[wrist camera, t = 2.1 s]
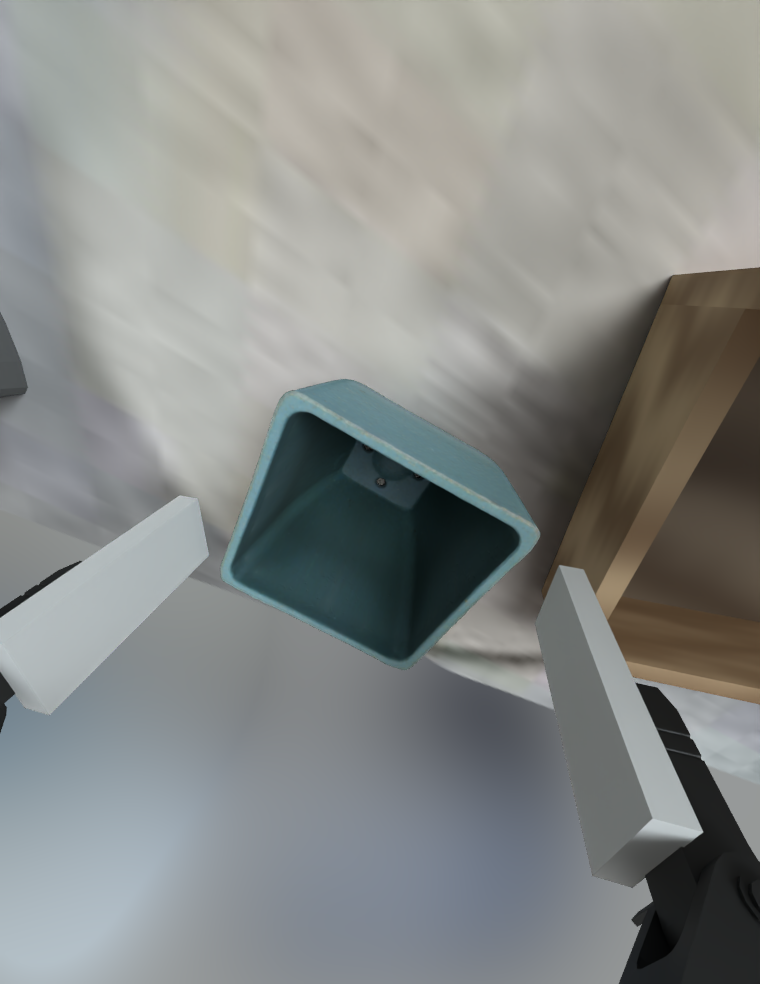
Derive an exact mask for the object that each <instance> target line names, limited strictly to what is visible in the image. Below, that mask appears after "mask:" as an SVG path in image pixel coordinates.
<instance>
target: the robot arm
mask: <svg viewBox="0 0 760 984" xmlns="http://www.w3.org/2000/svg"><path fill="white" fill-rule="evenodd" d="M208 556H209V552H208V547H207V542H206V537H205V532H204V527H203V522H202V517H201V512H200V507H199V502H198V499H197V498H192V497H187V496H181V495H179V496H178V497H177V498H175V499H174V500H172V501H171V502H169V503H168V504H166V505H165V506H163V507H162V508H160V509H159V510H157V511H156V512H155V513H153V514H152V515H150V516H149V517H147V518H146V519H144V520H143V521H141V522H140V523H138V524H137V525H136V526H134V527H133V528H131V529H130V530H128V531H127V532H125V533H124V534H122V535H121V536H119V537H118V538H116V539H115V540H114V541H112V542H111V543H109V544H108V545H106V546H105V547H103V548H102V549H100V550H99V551H97V552H96V553H95V554H93V555H92V556H90V557H89V558H87V559H86V560H84V561H79V562H77V563H74V564H72V565H69V566H67V567H65V568H63V569H61V570H58V571H57V572H55V573H54V574H53V575H51V576H49V577H48V578H46V579H45V580H43V581H42V582H40V584H39V585H36V586H34V587H33V588H31V589H30V590H28V591H27V592H25V594H24V595H23V596H19V597H17V598H16V599H14V600H13V601H11V602H10V603H8V604H7V605H6V606H4V607H2V608H1V609H0V732H1V729H2V726H3V723H4V720H5V717H6V709H7V707H6V706H5V704H4V703H5V702H6V701H7V700H8V699H10V698H11V697H12V696H13V695H14V694H15V695H16V696H17V698H18V699H19V701H20V702H21V703H22V705H23V706H24V708H27V709H30V710H34V711H37V712H41V713H44V714H47V715H50V714H51V713H52V712H53V711H54V710H55V709H56V708H57V707H58V706H59V705H60V704H61V703H62V702H63V701H64V700H65V699H66V698H67V697H68V696H69V695H70V694H71V693H72V692H73V691H74V690H75V689H76V688H77V687H78V686H79V685H80V684H81V683H82V682H83V681H84V680H85V679H86V678H87V677H88V676H89V675H90V674H91V673H92V672H93V671H94V670H95V669H96V668H97V667H98V666H99V665H100V664H101V663H102V662H103V661H104V660H105V659H106V658H107V657H108V656H109V655H110V654H111V653H112V652H113V651H114V650H115V649H116V648H117V647H118V646H119V645H120V644H121V643H122V642H123V641H124V640H125V639H126V638H127V637H128V636H129V635H130V634H131V633H132V632H133V631H134V630H135V629H136V628H137V627H138V626H139V625H140V624H141V623H142V622H143V621H144V620H145V619H146V618H147V617H148V616H149V615H150V614H151V613H152V612H153V611H154V610H155V609H156V608H157V607H158V606H159V605H160V604H161V603H162V602H163V601H164V600H165V599H166V598H167V597H168V596H169V595H170V594H171V593H172V592H173V591H174V590H175V589H176V588H177V587H178V586H179V585H180V584H181V583H182V582H183V581H184V580H185V579H186V578H187V577H188V576H189V575H190V574H191V573H192V572H193V571H194V570H195V569H196V568H197V567H198V566H199V565H200V564H201V563H202V562H203V561H204V560H205V559H206V558H207V557H208ZM535 626H536V630H537V635H538V639H539V643H540V648H541V652H542V657H543V661H544V665H545V670H546V674H547V679H548V683H549V687H550V692H551V696H552V701H553V705H554V709H555V714H556V718H557V722H558V727H559V731H560V736H561V740H562V745H563V749H564V753H565V757H566V762H567V767H568V771H569V775H570V780H571V784H572V788H573V793H574V797H575V802H576V806H577V811H578V815H579V820H580V824H581V828H582V833H583V837H584V841H585V846H586V850H587V855H588V859H589V864H590V868H591V872H592V876H594V877H598V878H601V879H604V880H608V881H611V882H615V883H618V884H621V885H625V886H628V887H631V888H633V887H634V886H635V885H636V884H638V883H639V882H640V881H642V880H643V879H644V878H646V880H647V883H648V886H649V889H650V892H651V896H652V899H653V902H652V903H650V904H649V905H648V906H646V907H645V908H643V909H642V910H640V911H639V912H638V913H637V914H636V915H635V916H634V917H633V919H632V921H633V922H634V924H636V926H639V925H641V924H642V925H641V928H640V930H639V933H638V936H637V938H636V941H635V943H634V946H633V948H632V951H631V954H630V956H629V959H628V961H627V964H626V967H625V969H624V972H623V974H622V977H621V979H620V982H619V984H760V862H759V861H758V860H757V858H756V856H755V855H754V853H753V852H752V850H751V848H750V847H749V845H748V843H747V841H746V839H745V838H744V836H743V834H742V832H741V830H740V828H739V826H738V824H737V822H736V821H735V819H734V817H733V815H732V813H731V811H730V809H729V808H728V805H727V803H726V802H725V800H724V798H723V796H722V794H721V792H720V790H719V788H718V786H717V785H716V783H715V781H714V779H713V777H712V775H711V773H710V771H709V769H708V767H707V766H706V764H705V762H704V761H702V760H701V754H700V752H699V750H698V749H697V747H696V745H695V743H694V741H693V740H692V739H690V733H689V731H688V730H687V728H686V726H685V724H684V722H683V720H682V718H681V716H680V714H679V713H678V711H677V709H676V708H675V707H674V706H673V705H672V704H671V703H670V701H669V700H668V699H667V698H666V697H665V696H664V695H663V693H662V692H661V691H660V690H659V689H658V688H656V687H652V686H647V685H643V684H638V683H635V681H634V679H633V677H632V675H631V672H630V670H629V668H628V666H627V664H626V661H625V659H624V657H623V655H622V653H621V650H620V648H619V646H618V644H617V642H616V639H615V637H614V635H613V633H612V631H611V628H610V626H609V624H608V622H607V620H606V617H605V615H604V613H603V611H602V609H601V606H600V604H599V602H598V600H597V598H596V595H595V593H594V591H593V589H592V587H591V584H590V582H589V580H588V578H587V576H586V574H585V571H584V569H579V568H573V567H568V566H562V565H559V566H558V569H557V571H556V573H555V576H554V578H553V581H552V583H551V585H550V588H549V590H548V593H547V595H546V597H545V600H544V602H543V605H542V607H541V609H540V612H539V614H538V617H537V619H536V621H535Z"/></svg>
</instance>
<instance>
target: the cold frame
mask: <svg viewBox="0 0 760 984" xmlns="http://www.w3.org/2000/svg"><path fill="white" fill-rule="evenodd" d="M559 565H562V566H568V567H573V568H579V569H584V571H585V574H586V576H587V578H588V580H589V582H590V584H591V587H592V589H593V591H594V593H595V595H596V598H597V600H598V602H599V604H600V606H601V609H602V611H603V613H604V615H605V617H606V620H607V622H608V624H609V626H610V628H611V631H612V633H613V635H614V637H615V639H616V642H617V644H618V646H619V648H620V650H621V653H622V655H623V657H624V659H625V661H626V664H627V666H628V668H629V670H630V672H631V675H632V677H635V678H640V679H645V680H649V681H654V682H659V683H663V684H668V685H673V686H677V687H682V688H686V689H691V690H696V691H700V692H705V693H710V694H714V695H719V696H724V697H728V698H733V699H738V700H742V701H747V702H751V703H756V704H760V268H748V269H737V270H726V271H715V272H703V273H692V274H681V275H673V276H672V278H671V280H670V283H669V285H668V288H667V290H666V292H665V295H664V297H663V300H662V302H661V304H660V307H659V309H658V312H657V314H656V317H655V319H654V321H653V324H652V326H651V329H650V331H649V333H648V336H647V338H646V341H645V343H644V345H643V348H642V350H641V353H640V355H639V357H638V360H637V362H636V365H635V367H634V369H633V372H632V374H631V377H630V379H629V381H628V384H627V386H626V389H625V391H624V393H623V396H622V398H621V401H620V403H619V406H618V408H617V410H616V413H615V415H614V418H613V420H612V422H611V425H610V427H609V430H608V432H607V434H606V437H605V439H604V442H603V444H602V446H601V449H600V451H599V454H598V456H597V458H596V461H595V463H594V466H593V468H592V470H591V473H590V475H589V478H588V480H587V482H586V485H585V487H584V490H583V492H582V494H581V497H580V499H579V502H578V504H577V507H576V509H575V511H574V514H573V516H572V519H571V521H570V523H569V526H568V528H567V531H566V533H565V535H564V538H563V540H562V543H561V545H560V547H559V550H558V552H557V555H556V557H555V559H554V562H553V564H552V567H551V569H550V571H549V574H548V576H547V579H546V581H545V583H544V586H543V588H542V595H543V599H544V600H545V597H546V595H547V593H548V590H549V588H550V585H551V583H552V581H553V578H554V576H555V573H556V571H557V569H558V566H559Z"/></svg>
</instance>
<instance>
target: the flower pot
mask: <svg viewBox="0 0 760 984" xmlns="http://www.w3.org/2000/svg"><path fill="white" fill-rule="evenodd" d="M364 444H365V445H367V446H369V447H370V448H372V450H370V451H369V450H366V449H365V447H364ZM415 473H416V474H418V475H420V476H421V477H422V478H417V477H415ZM379 478H383V479H384V480H385V482H386V483H385V485H383V486H381V485H378V483H377V479H379ZM539 538H540V531H539V530H538V528H537V526H536V525H535V523H534V521H533V520H532V518H531V516H530V515H529V513H528V511H527V510H526V508H525V506H524V505H523V503H522V501H521V500H520V498H519V496H518V495H517V493H516V491H515V490H514V488H513V487H512V485H511V483H510V482H509V480H508V478H507V477H506V475H505V474H504V472H503V471H502V470H501V469H500V467H499V466H498V465H497V464H496V463H495V462H494V461H492V460H491V459H490V458H489V457H487V456H486V455H485V454H483V453H482V452H480V451H478V450H477V449H475V448H473V447H471V446H470V445H468V444H466V443H464V442H463V441H461V440H459V439H457V438H455V437H454V436H452V435H450V434H448V433H447V432H445V431H443V430H441V429H440V428H438V427H436V426H434V425H433V424H431V423H429V422H427V421H425V420H424V419H422V418H420V417H419V416H417V415H415V414H413V413H412V412H410V411H408V410H406V409H405V408H403V407H401V406H399V405H398V404H396V403H394V402H392V401H391V400H389V399H387V398H386V397H384V396H382V395H381V394H379V393H377V392H376V391H374V390H372V389H371V388H369V387H367V386H365V385H363V384H362V383H359V382H357V381H354V380H348V379H341V380H335V381H330V382H326V383H322V384H318V385H314V386H310V387H306V388H302V389H298V390H293V391H289V392H287V393H285V394H284V395H283V396H282V397H281V399H280V400H279V402H278V404H277V407H276V409H275V412H274V414H273V417H272V421H271V424H270V427H269V429H268V433H267V436H266V439H265V442H264V445H263V448H262V451H261V454H260V457H259V461H258V463H257V466H256V469H255V473H254V475H253V479H252V481H251V484H250V487H249V490H248V493H247V495H246V498H245V502H244V504H243V507H242V510H241V512H240V514H239V517H238V521H237V523H236V526H235V528H234V531H233V534H232V536H231V539H230V542H229V545H228V547H227V550H226V553H225V555H224V558H223V560H222V563H221V567H220V575H221V579H222V580H223V581H224V582H226V583H227V584H229V585H231V586H232V587H234V588H236V589H237V590H239V591H242V592H244V593H246V594H247V595H250V596H251V597H253V598H255V599H258V600H259V601H261V602H263V603H265V604H267V605H270V606H272V607H275V608H276V609H278V610H280V611H282V612H285V613H287V614H289V615H291V616H293V617H294V618H296V619H299V620H301V621H302V622H305V623H307V624H309V625H310V626H312V627H314V628H317V629H318V630H320V631H323V632H324V633H327V634H329V635H331V636H333V637H335V638H337V639H339V640H341V641H343V642H345V643H347V644H349V645H351V646H353V647H355V648H357V649H358V650H360V651H362V652H364V653H366V654H368V655H370V656H372V657H374V658H375V659H377V660H380V661H381V662H383V663H384V664H387V665H389V666H392V667H395V668H398V669H401V670H407V669H410V668H411V667H413V666H414V664H416V663H417V662H418V661H419V660H420V659H421V658H422V657H423V656H424V655H425V654H426V653H427V652H428V651H429V650H430V649H431V648H432V647H433V646H434V645H435V644H436V643H437V642H438V641H439V639H440V638H442V636H443V635H444V634H446V632H447V631H448V630H449V629H450V628H451V627H452V626H453V625H454V624H456V622H457V621H458V620H459V619H461V618H462V616H463V615H464V614H465V613H466V612H467V611H468V610H469V609H470V608H471V607H472V606H473V605H474V604H475V603H476V602H477V601H478V600H479V599H480V598H481V597H482V596H483V595H484V594H485V593H486V592H487V591H489V590H490V589H491V588H492V587H493V586H494V585H495V584H496V583H497V582H498V581H499V580H500V579H501V578H502V577H503V576H504V575H505V574H506V573H508V572H509V571H510V570H511V569H512V568H513V567H514V566H515V565H516V564H518V563H519V562H520V561H521V560H522V559H523V558H524V557H525V556H526V555H527V554H528V553H529V552H530V551H531V550H532V549H533V547H534V546H535V544H536V543H537V541H538V540H539Z"/></svg>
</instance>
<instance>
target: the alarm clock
mask: <svg viewBox="0 0 760 984" xmlns="http://www.w3.org/2000/svg"><path fill="white" fill-rule="evenodd" d="M27 388H28V387H27V383H26V379H25V375H24V371H23V367H22V363H21V360H20V358H19V355H18V353H17V350H16V348H15V345H14V343H13V340H12V338H11V335H10V333H9V330H8V328H7V325H6V323H5V321H4V319H3V317H2V315H1V313H0V397H4V396H11V395H18V394H25V392H26V390H27Z"/></svg>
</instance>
